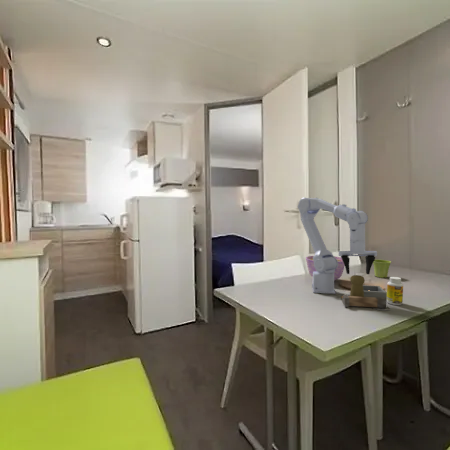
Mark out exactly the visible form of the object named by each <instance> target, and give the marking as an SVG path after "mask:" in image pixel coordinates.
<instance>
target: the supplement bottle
mask: <svg viewBox="0 0 450 450" xmlns="http://www.w3.org/2000/svg"><path fill="white" fill-rule="evenodd" d="M386 284H387V285H386V292H387V302H386V303H388V304H389V305H394V306H402V305H403V297H404V284H403V282H402V278H401V277H398V276H390V277H389V281H388V282H387V283H386Z"/></svg>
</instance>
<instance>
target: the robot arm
mask: <svg viewBox="0 0 450 450" xmlns="http://www.w3.org/2000/svg"><path fill="white" fill-rule="evenodd" d="M297 209H298V212H299V214H300V221H301V224H302V226H303V228H304V231H305V233H306V236H307V238H308V239H309V242H310V245H311V247H312V249H313V252H314V255H313V256H314V257H313V260H314V267H315V269H316V270H317V271H316V272H313V277H312V284H311V288H312V291H313V293H314V294H315V293H317V294H320V293H321V294H332V295H336V294H337V293H336V290H335V280H334V272H335V269H336V268H337V267H338V261H337V259H336V258H335V257H336V256H335V257H334V254H333V252H332V251H330V250H329V249H328V248H327V247H326V245H325V242H324V239H323V238H322V235H321V233H320V231H319V229H318V226H317V224H316V222H315V220H314V219H315V217H316V216H317V214H318V213H319V212H320V210H324V211H327V212H330V213H333V215H334V216H335V218H338V219H340V220H342V221H344V222H347V224H348V226H349V227H348V228H349V250H338V257H341V258H342V260H343V262H344V265H345V266H344V269H345V272H346V274H347V275H350V257H365V273H366V275H370V273H371V268H372V265H374V264H373V262H374V260H376V257H378V251H377V250H366V224H367V223H368V219H369V216H368V214H367V213H366V212H365V211H364V210H357V208H354V207H353V208H351V207H348V206H347V204H345V203H342V204H339V205H336V204H334V203H332V202H329V201H327V200H324V199H323V198H319V197H301V198H300V200H299V202H298V204H297Z"/></svg>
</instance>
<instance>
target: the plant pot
mask: <svg viewBox="0 0 450 450" xmlns="http://www.w3.org/2000/svg"><path fill="white" fill-rule="evenodd" d="M391 264H392V261H391V260H385V259H375V260H374V262H373V264H372V265H373V271H374V276H375V277H377V278H382V279H383V278H388V275H389V270H390V269H389V268H390V265H391Z"/></svg>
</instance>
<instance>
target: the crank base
mask: <svg viewBox="0 0 450 450" xmlns="http://www.w3.org/2000/svg"><path fill="white" fill-rule="evenodd" d="M371 308H372V309H374V310H375V311H376V310H377V311H383V312H385V311H386V312H388V311H390V310H391V308H390V307H388V306H386V308H385V309H381V308H377V307H371Z"/></svg>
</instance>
